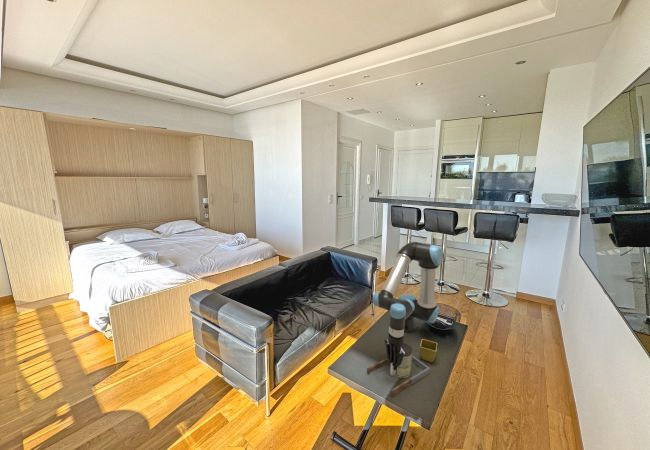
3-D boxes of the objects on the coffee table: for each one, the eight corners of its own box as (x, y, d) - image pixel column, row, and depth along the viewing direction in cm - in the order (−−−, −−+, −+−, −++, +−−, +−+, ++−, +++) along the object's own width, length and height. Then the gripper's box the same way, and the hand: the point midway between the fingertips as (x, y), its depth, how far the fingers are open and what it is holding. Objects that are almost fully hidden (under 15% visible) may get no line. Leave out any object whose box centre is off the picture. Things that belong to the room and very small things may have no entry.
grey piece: (403, 353, 155) (403, 349, 154) (429, 373, 140) (430, 368, 140) (385, 363, 147) (385, 358, 146) (411, 384, 132) (411, 379, 132)
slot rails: (385, 363, 147) (385, 358, 146) (411, 384, 132) (411, 379, 132) (366, 372, 140) (367, 368, 139) (391, 396, 125) (392, 391, 124)
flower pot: (420, 351, 157) (421, 338, 155) (435, 356, 153) (437, 342, 152) (418, 360, 149) (419, 346, 148) (434, 365, 146) (436, 351, 144)
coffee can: (387, 371, 141) (389, 348, 138) (396, 361, 148) (398, 339, 146) (405, 381, 134) (407, 357, 131) (413, 370, 142) (415, 348, 139)
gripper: (381, 329, 136) (379, 368, 141) (400, 343, 125) (397, 384, 130) (391, 325, 140) (388, 363, 145) (411, 338, 129) (407, 378, 134)
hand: (392, 373), depth 137 cm, fingers closed
